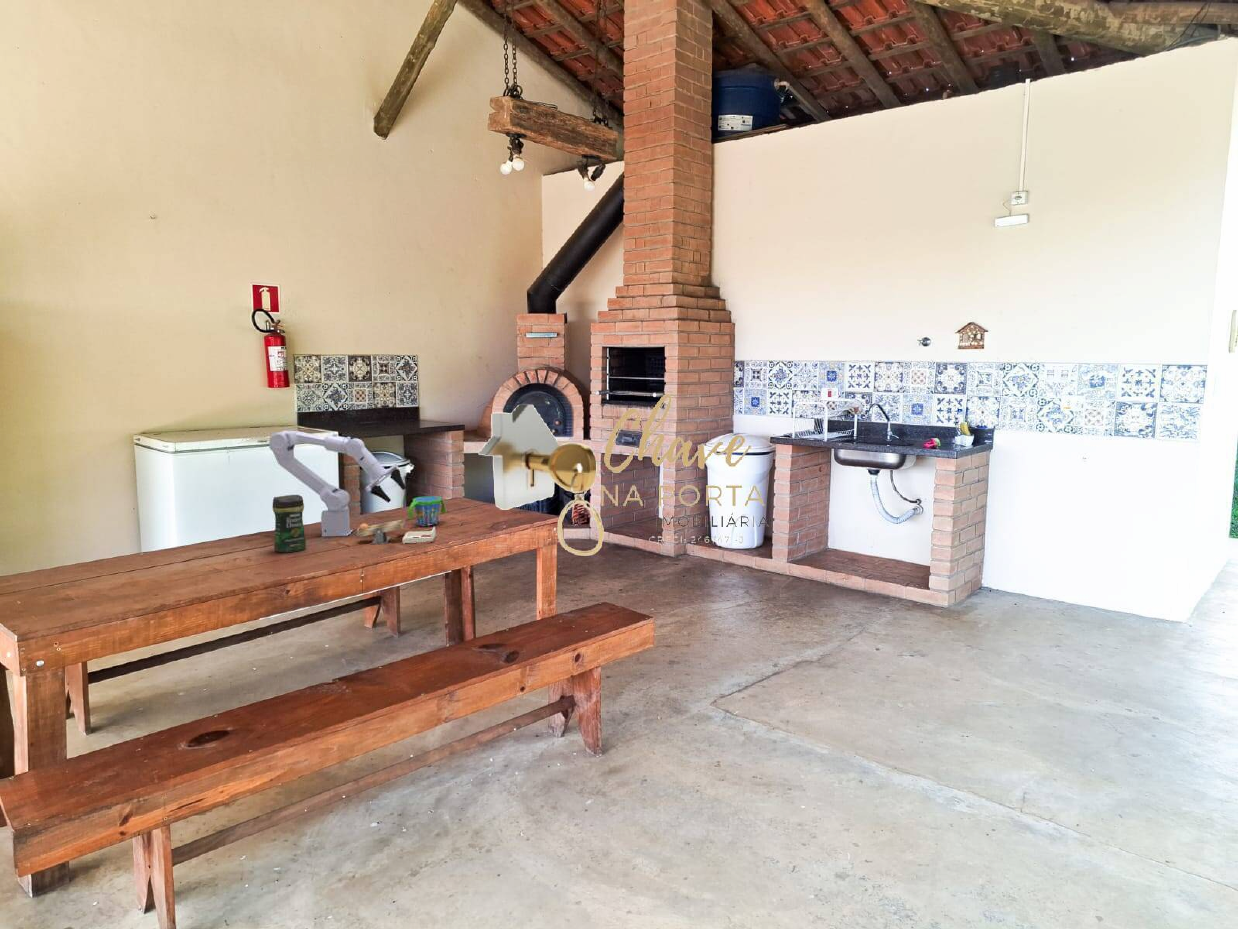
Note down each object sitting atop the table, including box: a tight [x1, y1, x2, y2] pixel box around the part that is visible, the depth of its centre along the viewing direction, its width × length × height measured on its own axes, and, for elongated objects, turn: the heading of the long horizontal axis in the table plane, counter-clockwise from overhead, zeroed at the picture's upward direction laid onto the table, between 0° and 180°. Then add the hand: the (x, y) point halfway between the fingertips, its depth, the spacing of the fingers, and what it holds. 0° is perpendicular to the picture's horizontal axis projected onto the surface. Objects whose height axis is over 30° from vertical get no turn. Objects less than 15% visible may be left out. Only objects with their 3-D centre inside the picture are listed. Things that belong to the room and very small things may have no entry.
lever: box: [356, 518, 408, 538], centre depth 284 cm, size 15×13×2 cm
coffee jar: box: [271, 494, 307, 553], centre depth 268 cm, size 10×8×19 cm
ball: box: [359, 523, 369, 530], centre depth 280 cm, size 3×3×3 cm
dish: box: [402, 526, 436, 545], centre depth 282 cm, size 10×10×4 cm
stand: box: [371, 529, 392, 545], centre depth 281 cm, size 5×9×5 cm, turn 7°
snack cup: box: [408, 496, 446, 525], centre depth 306 cm, size 16×10×10 cm
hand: (397, 495), depth 291 cm, fingers open, 7 cm apart
